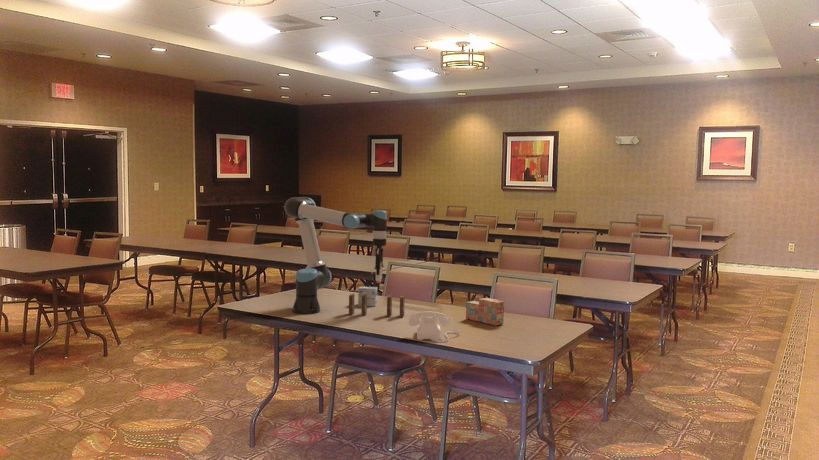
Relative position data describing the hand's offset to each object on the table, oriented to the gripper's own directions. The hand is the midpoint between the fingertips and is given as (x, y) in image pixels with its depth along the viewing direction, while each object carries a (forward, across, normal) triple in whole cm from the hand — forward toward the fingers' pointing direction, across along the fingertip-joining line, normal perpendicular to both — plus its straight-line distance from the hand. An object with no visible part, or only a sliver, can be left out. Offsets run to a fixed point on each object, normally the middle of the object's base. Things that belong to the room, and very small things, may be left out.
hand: (378, 279), depth 356 cm
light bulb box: (+19, +22, +9) cm, 31 cm away
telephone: (+19, -51, -34) cm, 64 cm away
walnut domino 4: (+19, -7, -14) cm, 24 cm away
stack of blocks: (+19, -11, -58) cm, 62 cm away
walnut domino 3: (+19, -6, -7) cm, 21 cm away
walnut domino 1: (+19, -6, +14) cm, 24 cm away
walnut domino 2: (+19, -6, +7) cm, 21 cm away
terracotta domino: (+1, 0, 0) cm, 1 cm away
